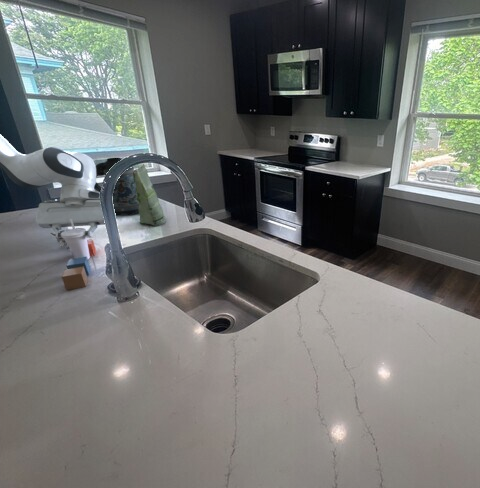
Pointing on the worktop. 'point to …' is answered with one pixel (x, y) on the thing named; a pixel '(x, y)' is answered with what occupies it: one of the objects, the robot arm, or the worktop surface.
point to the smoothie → (76, 241)
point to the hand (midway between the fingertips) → (74, 237)
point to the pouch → (147, 198)
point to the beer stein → (121, 189)
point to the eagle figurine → (61, 239)
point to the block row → (78, 270)
